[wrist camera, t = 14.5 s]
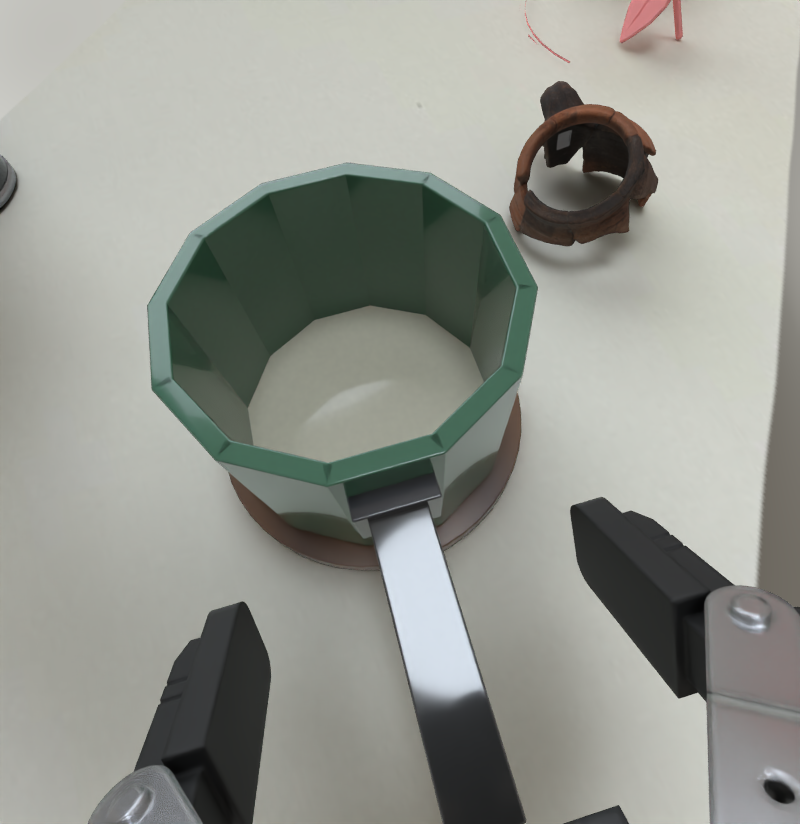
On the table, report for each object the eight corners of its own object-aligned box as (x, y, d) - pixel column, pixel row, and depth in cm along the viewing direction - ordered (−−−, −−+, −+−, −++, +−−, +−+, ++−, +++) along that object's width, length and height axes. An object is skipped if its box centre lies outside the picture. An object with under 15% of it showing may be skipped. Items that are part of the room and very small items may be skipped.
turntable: (268, 621, 25) (260, 620, 24) (207, 355, 32) (199, 345, 31) (573, 500, 26) (579, 494, 25) (449, 274, 34) (449, 261, 32)
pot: (228, 340, 30) (141, 211, 21) (452, 281, 31) (459, 134, 22) (296, 827, 20) (181, 975, 11) (635, 717, 21) (789, 769, 12)
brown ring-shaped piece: (677, 234, 34) (693, 179, 27) (548, 298, 38) (530, 265, 30) (605, 96, 37) (601, 10, 29) (489, 168, 40) (459, 108, 32)
